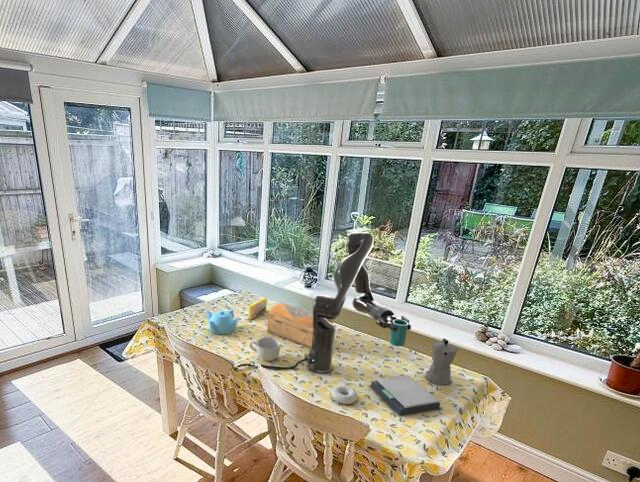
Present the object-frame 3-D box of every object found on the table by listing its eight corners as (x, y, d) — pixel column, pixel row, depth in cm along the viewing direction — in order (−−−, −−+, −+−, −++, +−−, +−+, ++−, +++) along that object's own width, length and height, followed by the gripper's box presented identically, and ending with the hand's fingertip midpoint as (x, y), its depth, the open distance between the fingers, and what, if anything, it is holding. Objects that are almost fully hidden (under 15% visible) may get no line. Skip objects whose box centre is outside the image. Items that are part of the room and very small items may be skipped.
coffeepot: (451, 389, 165) (460, 349, 158) (426, 384, 168) (434, 345, 162) (449, 371, 179) (457, 333, 172) (426, 366, 182) (433, 330, 175)
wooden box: (333, 339, 207) (335, 313, 201) (314, 350, 195) (317, 323, 190) (286, 322, 225) (287, 298, 220) (266, 331, 214) (267, 306, 208)
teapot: (239, 335, 210) (239, 315, 205) (209, 337, 206) (209, 317, 202) (233, 323, 223) (233, 304, 219) (206, 325, 220) (205, 306, 216)
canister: (394, 347, 177) (398, 326, 173) (386, 340, 183) (389, 320, 179) (407, 345, 179) (411, 324, 175) (398, 339, 184) (402, 318, 180)
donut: (352, 390, 163) (327, 391, 163) (353, 383, 162) (328, 383, 161) (360, 405, 154) (334, 406, 153) (362, 397, 153) (335, 398, 152)
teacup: (283, 355, 190) (283, 339, 187) (274, 365, 181) (274, 349, 178) (255, 349, 195) (255, 334, 192) (245, 359, 186) (246, 343, 183)
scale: (399, 415, 149) (400, 408, 148) (370, 386, 166) (371, 379, 165) (439, 408, 153) (440, 401, 152) (406, 380, 171) (408, 374, 170)
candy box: (251, 320, 227) (251, 306, 224) (248, 319, 228) (248, 305, 225) (266, 311, 240) (266, 297, 237) (263, 310, 241) (263, 297, 238)
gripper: (368, 308, 187) (389, 322, 172) (396, 305, 191) (419, 319, 176) (366, 323, 190) (387, 338, 175) (393, 320, 194) (415, 335, 179)
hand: (402, 328), depth 176 cm, fingers closed on canister, 6 cm apart
